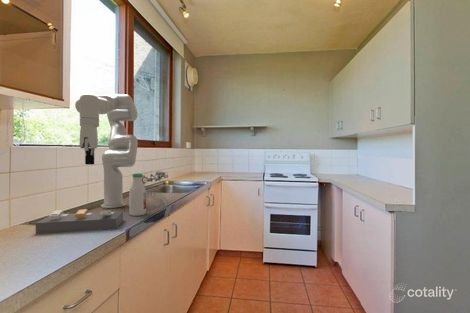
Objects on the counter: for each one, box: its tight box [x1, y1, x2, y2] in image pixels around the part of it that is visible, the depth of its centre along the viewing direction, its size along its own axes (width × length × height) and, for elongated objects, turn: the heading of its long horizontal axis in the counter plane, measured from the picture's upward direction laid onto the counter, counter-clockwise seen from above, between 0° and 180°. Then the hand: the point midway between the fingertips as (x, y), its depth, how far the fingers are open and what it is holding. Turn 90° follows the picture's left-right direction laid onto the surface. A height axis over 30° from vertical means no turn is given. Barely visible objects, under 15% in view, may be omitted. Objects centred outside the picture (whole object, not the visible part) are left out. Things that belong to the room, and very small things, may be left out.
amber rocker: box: [75, 208, 89, 218], centre depth 105 cm, size 5×3×2 cm, turn 13°
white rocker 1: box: [48, 209, 64, 219], centre depth 103 cm, size 5×3×2 cm, turn 13°
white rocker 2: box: [99, 209, 112, 214], centre depth 108 cm, size 5×3×2 cm, turn 13°
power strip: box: [35, 210, 124, 234], centre depth 107 cm, size 14×28×4 cm, turn 103°
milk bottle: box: [128, 173, 147, 217], centre depth 128 cm, size 8×8×20 cm
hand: (89, 164), depth 116 cm, fingers closed
